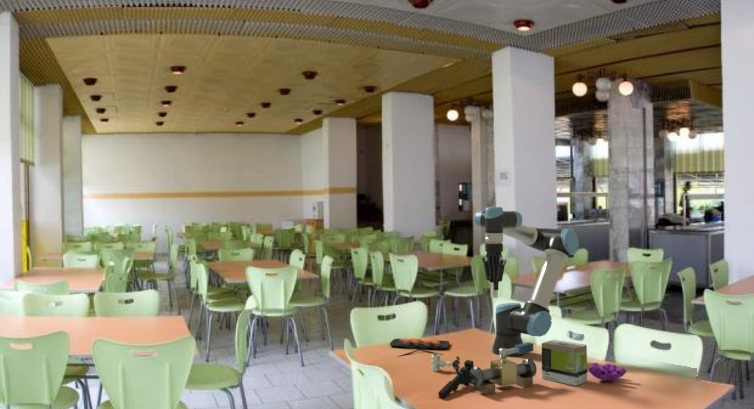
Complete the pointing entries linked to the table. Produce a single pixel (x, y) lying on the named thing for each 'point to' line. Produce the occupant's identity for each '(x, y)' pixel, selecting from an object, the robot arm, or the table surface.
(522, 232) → the robot arm
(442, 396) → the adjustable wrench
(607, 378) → the purple lumpy cluster
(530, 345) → the lever
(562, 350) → the tea box
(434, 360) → the valve
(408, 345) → the sushi plate
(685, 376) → the table surface
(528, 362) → the pipe run
